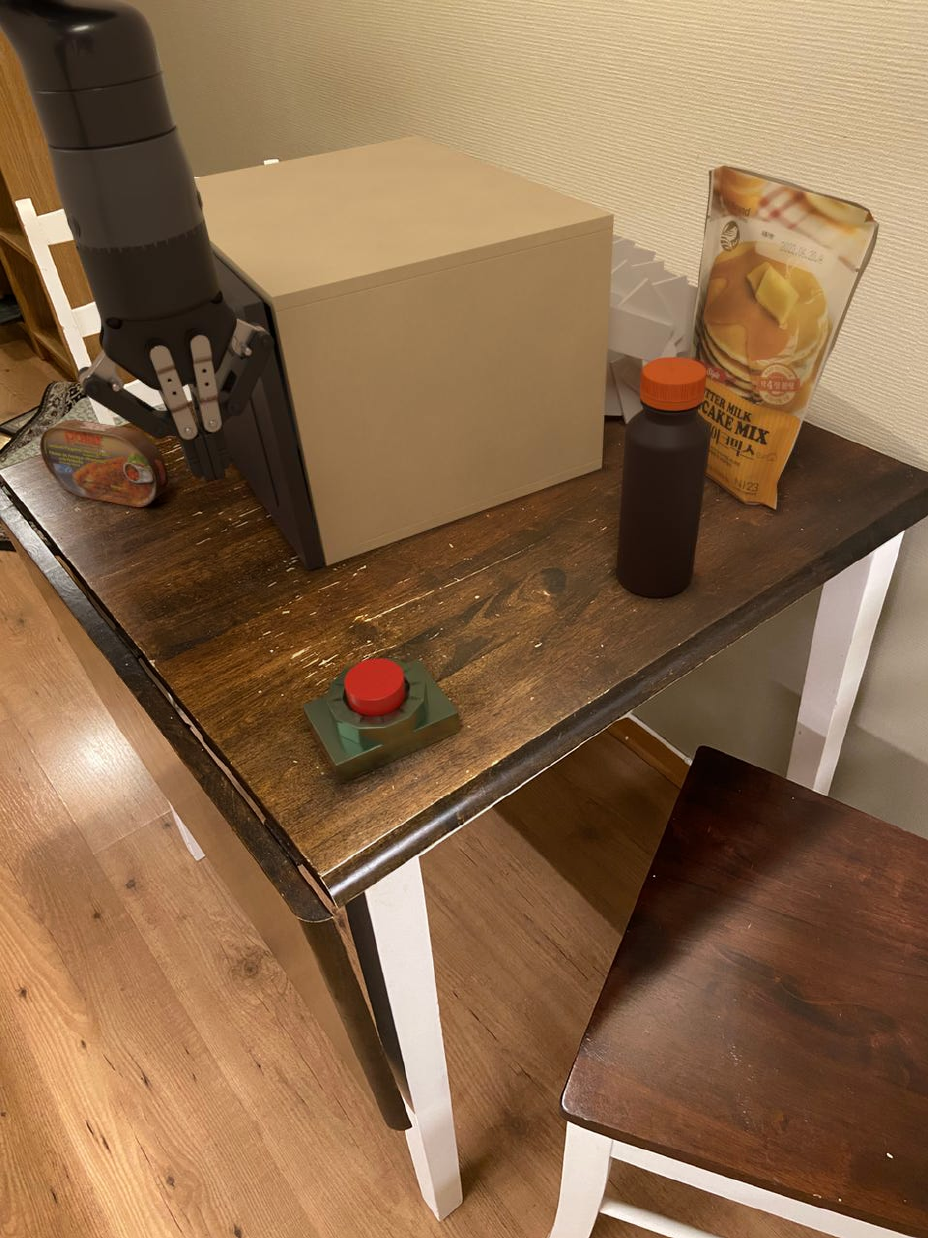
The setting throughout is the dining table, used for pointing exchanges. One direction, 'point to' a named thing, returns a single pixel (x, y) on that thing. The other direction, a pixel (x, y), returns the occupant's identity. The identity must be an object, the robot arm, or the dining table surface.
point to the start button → (375, 687)
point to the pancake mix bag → (769, 316)
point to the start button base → (380, 724)
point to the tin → (104, 462)
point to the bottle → (663, 479)
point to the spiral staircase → (643, 322)
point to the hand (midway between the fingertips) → (211, 475)
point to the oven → (422, 329)
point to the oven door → (268, 435)
